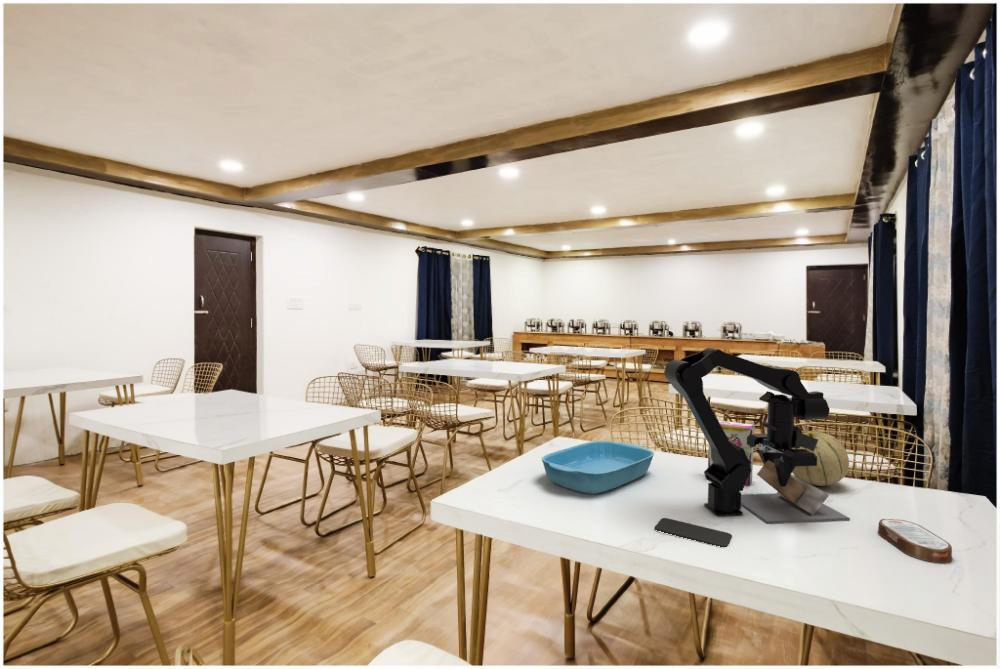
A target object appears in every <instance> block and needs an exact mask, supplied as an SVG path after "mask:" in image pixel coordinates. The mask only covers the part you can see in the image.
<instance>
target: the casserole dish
mask: <svg viewBox="0 0 1000 669" xmlns="http://www.w3.org/2000/svg"><path fill="white" fill-rule="evenodd" d="M654 455H655V452H654V451H653V450H652V449H648V448H645V447H643V446H641V445H638V444H634V443H629V442H622V441H613V440H612V441H611V440H594V441H589V442H584V443H581V444H577V445H574V446H569V447H567V448H564V449H559V450H557V451H553V452H550V453H548V454H546V455H545V454H544V456H542V458H541V461H542V464H543V467H544V471H545V473H546V476H547V478H548V480H550V481H551V482H553V484H555V485H558V486H561V487H563V488H567V489H570V490H573V491H576V492H580V493H584V494H587V495H588V494H589V495H597V494H602V493H606V492H608V491H610V490H614V489H616V488H619V487H621V486H623V485H625V484H628V483H630V482H632V481H634V480H637V479H639V478H640V477H642V476H644V475H645V474H646V473H648V470H649V468H650V465H651V463H652V460H653V457H654Z"/></svg>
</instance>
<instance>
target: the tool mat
mask: <svg viewBox="0 0 1000 669" xmlns="http://www.w3.org/2000/svg"><path fill="white" fill-rule="evenodd" d="M742 506H743V507H742ZM741 507H742V508H744V509H745V510H747V511H749V513H751V514H752V515H754V516H755V517H757V518H759V519H760V520H761V521H762V522H764V523H765V524H767V525H769V524H773V525H774V524H792V523H816V522H817V523H818V522H820V523H821V522H842V521H843V522H844V521H845V522H846V521H847V522H848V521H851V520H850V519H851V517H848V516H847V515H845V514H844V513H841V512H840V511H837V510H836V509H834V508H832V507H831V506H828V505H826V504H825V503H823V504H822V505H821V506H820V508H819V509H818V510H817V511H816V513H815V514H814V515H811V514H809V513H808V512H806V511H804V510H803V509H801V508H799V507H798V506H796V505H794V504H793V503H791V502H789V501H788V500H786V499H784V498H783V497H781V496H780V495H778V494H777V492H775V493H750V494H741Z"/></svg>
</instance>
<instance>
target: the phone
mask: <svg viewBox="0 0 1000 669" xmlns="http://www.w3.org/2000/svg"><path fill="white" fill-rule="evenodd" d="M655 530H657V531H661V532H664V533H668V534H672V535H676V536H679V537H678V538H680V537H683V538H682V539H684V538H687V539H686V540H688V539H691V540H690V541H692V540H696V541H699V542H698V543H700V542H704V543H707V544H706V545H709V544H712V545H711V546H713V545H716V546H715V547H717V546H720V547H719V548H721V547H727V546H729V545H730V543H731V541H732V539H733V535H732V534H731V533H729V532H727V531H722V530H719V529H715V528H710V527H705V526H701V525H697V524H693V523H689V522H684V521H681V520H676V519H671V518H667V517H663V518H661V519H660V520H658V522H657V523H656V525H655V526H654V531H655ZM657 531H656V532H657ZM664 533H663V534H664ZM668 534H667V535H668ZM672 535H671V536H672ZM676 536H675V537H676ZM731 538H732V539H731ZM730 540H731V541H730ZM696 541H695V542H696ZM704 543H703V544H704ZM728 544H729V545H728ZM727 548H728V547H727Z"/></svg>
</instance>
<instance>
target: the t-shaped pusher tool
mask: <svg viewBox="0 0 1000 669" xmlns="http://www.w3.org/2000/svg"><path fill="white" fill-rule="evenodd" d="M756 475H757V476H758V477H759V478H760V479H762V480H763V481H765V483H767V485H769V486H771V487H772V488H773V489H774V490H775V491H776V493H777V494H778V495H780V496H781V497H783V498H784V499H786V500H788V501H789V502H791V503H793V504H794V505H796V506H798V507H799V508H801V509H803V510H804V511H806V512H808V513H809V514H811V515H814V514H815V513H816V511H817V510H818V509H819V508H820V506H821V505H822V504H824V503H825V501H826V500H827V499H828V498H829V494H828V493H827V492H825V491H824V490H822V489H820V488H818V487H816V486H815V485H810V484H808V483H807V482H805V481H803V480H801V479H799V478H797V477H795V475H794V474H791V475H790V478H789V480H788V482H787V484H786V486H784V487H782V486H780V483H779V479H778V475H777V471H776V467H775V463H773V462H771V461H769V460H768V461H767V462H766V463H765V464H764V463H763V466H762V467H761V468H760V469H759V471H758V472H757V473H756Z"/></svg>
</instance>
